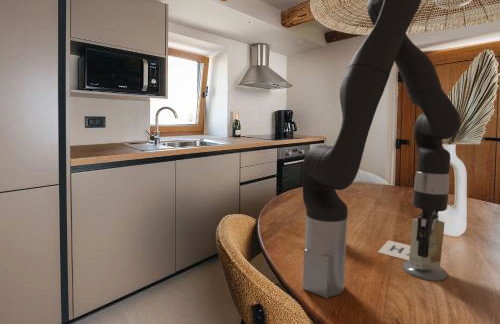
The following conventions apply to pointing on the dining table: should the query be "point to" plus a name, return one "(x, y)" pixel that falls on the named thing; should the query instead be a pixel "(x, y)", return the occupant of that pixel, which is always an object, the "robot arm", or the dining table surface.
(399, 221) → the dining table surface
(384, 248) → the card
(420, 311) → the dining table surface
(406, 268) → the slate coaster
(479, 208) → the dining table surface
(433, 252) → the skincare box
